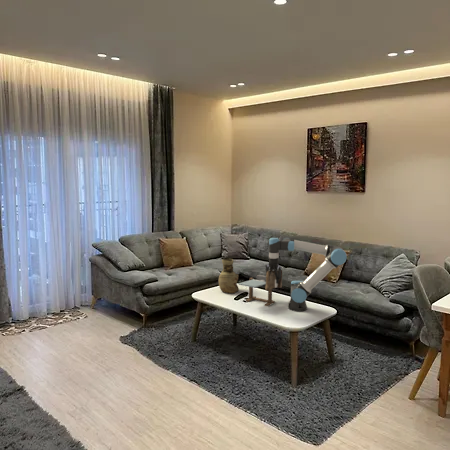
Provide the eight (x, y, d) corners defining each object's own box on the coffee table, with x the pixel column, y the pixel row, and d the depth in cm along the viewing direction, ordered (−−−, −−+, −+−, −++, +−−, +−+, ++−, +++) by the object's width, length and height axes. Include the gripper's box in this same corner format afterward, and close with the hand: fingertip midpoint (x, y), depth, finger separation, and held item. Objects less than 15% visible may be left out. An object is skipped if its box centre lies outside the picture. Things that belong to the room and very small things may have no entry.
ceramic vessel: (244, 292, 374) (245, 260, 370) (225, 295, 363) (225, 262, 359) (233, 287, 390) (233, 256, 386) (214, 290, 379) (214, 259, 375)
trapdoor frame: (274, 302, 344) (275, 280, 341) (267, 306, 334) (268, 283, 331) (252, 297, 356) (253, 276, 354) (245, 301, 346) (246, 279, 344)
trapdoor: (274, 285, 347) (274, 277, 346) (254, 291, 320) (255, 282, 320) (258, 282, 356) (258, 274, 356) (238, 288, 329) (238, 279, 329)
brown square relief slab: (267, 291, 310) (267, 271, 308) (263, 290, 313) (263, 270, 312) (282, 287, 320) (283, 268, 318) (279, 286, 323) (279, 268, 322)
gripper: (286, 258, 312) (285, 287, 314) (266, 255, 322) (265, 283, 324) (281, 259, 305) (280, 289, 308) (261, 257, 315) (261, 286, 318)
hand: (273, 286), depth 316 cm, fingers closed on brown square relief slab, 4 cm apart
